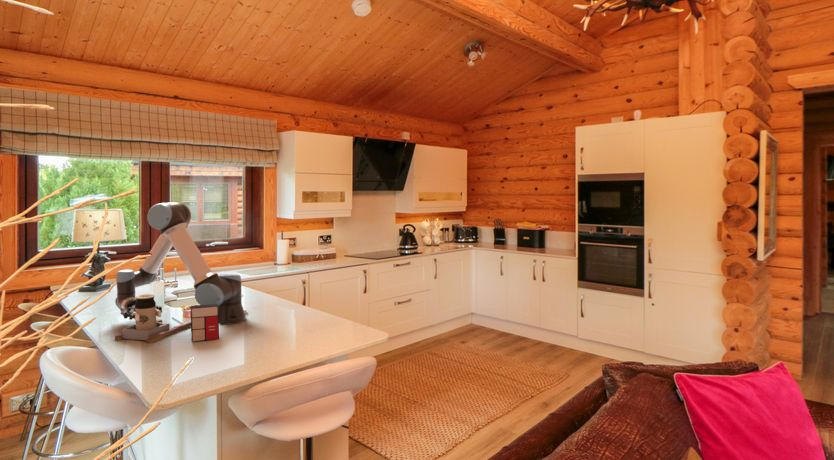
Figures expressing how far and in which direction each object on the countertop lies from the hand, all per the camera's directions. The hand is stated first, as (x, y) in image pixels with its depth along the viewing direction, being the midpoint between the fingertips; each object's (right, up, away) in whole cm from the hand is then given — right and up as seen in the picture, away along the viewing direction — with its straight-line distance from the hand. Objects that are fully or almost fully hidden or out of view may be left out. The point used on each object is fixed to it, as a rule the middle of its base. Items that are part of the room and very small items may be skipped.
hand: (149, 315), depth 214 cm
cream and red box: (+24, -11, 0) cm, 27 cm away
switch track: (-2, -9, +9) cm, 13 cm away
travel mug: (-4, -10, +4) cm, 11 cm away
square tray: (-4, -10, +4) cm, 11 cm away
